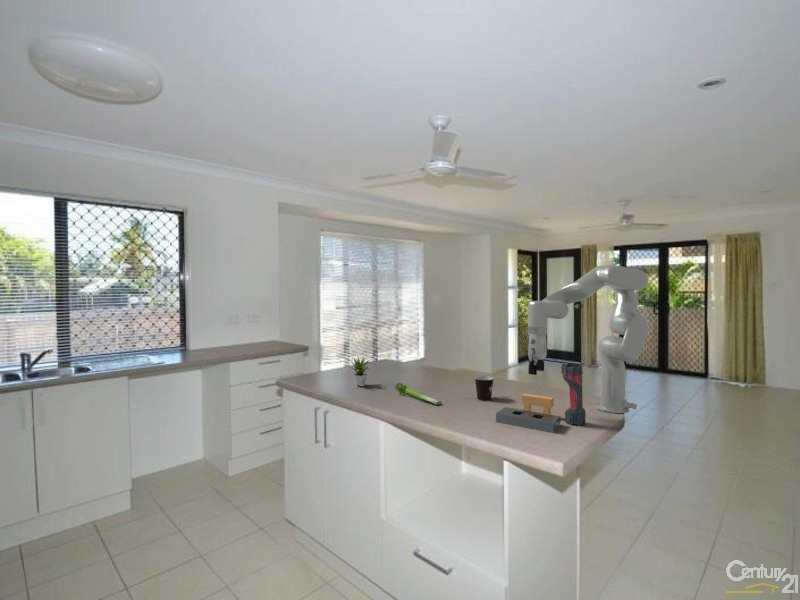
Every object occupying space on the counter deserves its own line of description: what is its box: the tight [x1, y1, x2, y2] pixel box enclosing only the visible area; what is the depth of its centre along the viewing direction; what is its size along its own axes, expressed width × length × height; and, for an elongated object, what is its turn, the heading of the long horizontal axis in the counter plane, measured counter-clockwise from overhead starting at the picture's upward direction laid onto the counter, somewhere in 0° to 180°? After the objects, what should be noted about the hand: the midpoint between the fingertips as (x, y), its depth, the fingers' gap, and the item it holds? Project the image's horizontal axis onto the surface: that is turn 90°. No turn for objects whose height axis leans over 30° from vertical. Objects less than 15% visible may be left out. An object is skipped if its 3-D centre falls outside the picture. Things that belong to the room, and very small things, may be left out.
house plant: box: [349, 355, 372, 386], centre depth 225 cm, size 14×14×16 cm
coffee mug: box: [474, 375, 494, 402], centre depth 199 cm, size 12×9×10 cm
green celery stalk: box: [394, 382, 443, 405], centre depth 200 cm, size 6×7×30 cm
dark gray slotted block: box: [495, 406, 561, 434], centre depth 162 cm, size 22×10×4 cm, turn 55°
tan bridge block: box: [521, 393, 554, 415], centre depth 172 cm, size 12×3×8 cm, turn 55°
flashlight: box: [561, 363, 587, 426], centre depth 162 cm, size 8×8×23 cm
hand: (536, 372), depth 172 cm, fingers open, 9 cm apart
